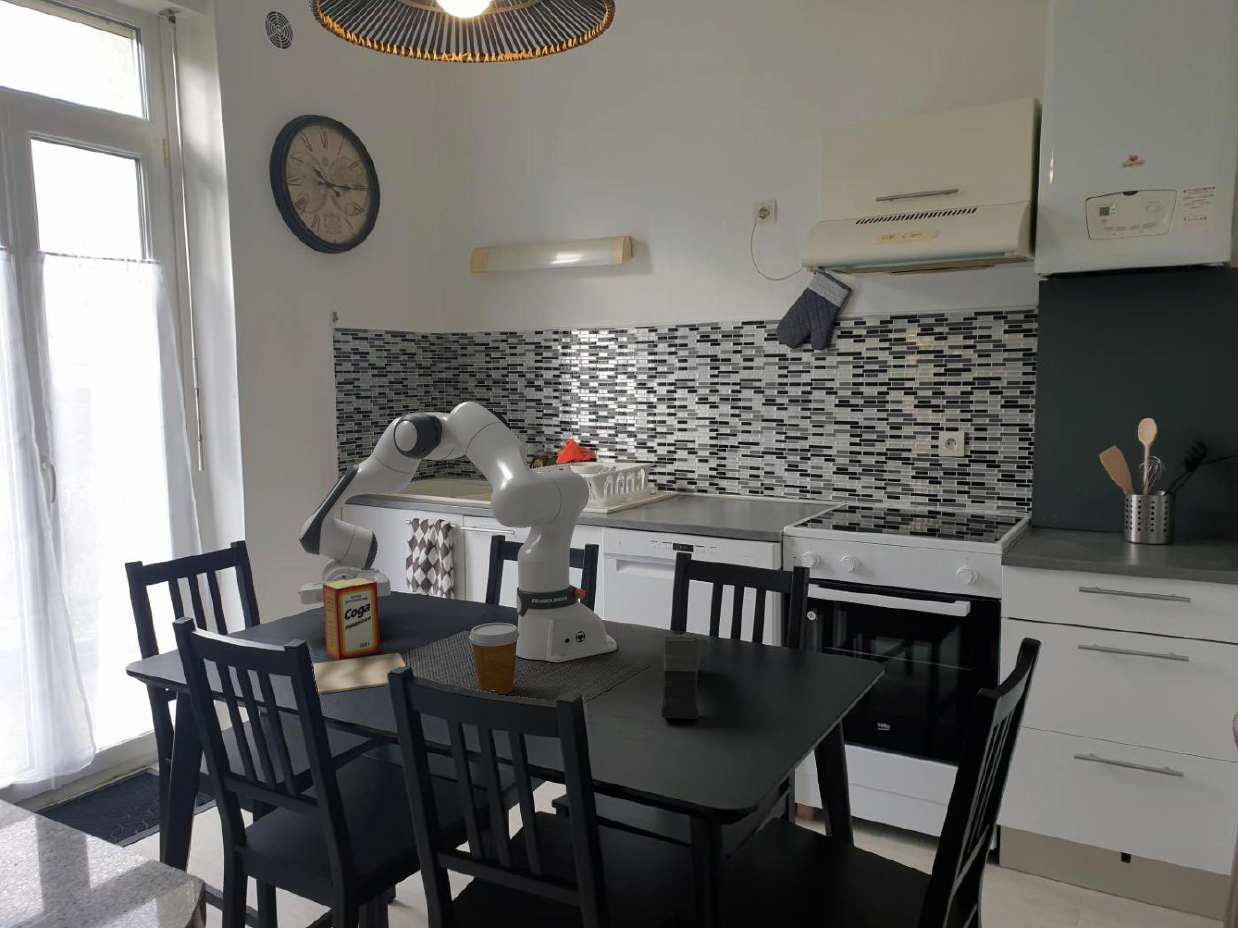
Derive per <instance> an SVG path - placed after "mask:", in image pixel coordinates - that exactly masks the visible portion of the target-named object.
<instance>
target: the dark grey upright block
mask: <svg viewBox="0 0 1238 928" xmlns="http://www.w3.org/2000/svg"><path fill="white" fill-rule="evenodd" d="M708 643H709V641H708V640H707V639H705V638H703V637H701V636H700V635H695V634H693V633H691V632H684V633H683V634H676V635H674V634H673V635H672V636H664V637H663V688H662V689H663V691H662V692H663V693H662V697H663V698H662V708H661V713H660V714H661V717H662V718H664V719H666V718H667V719H684V720H696V719H698V718H699V710H700V709H699V708H698V707H697V700H698V683H697V682H698V681H699V680H698V678H699V676H698V675H699V672H701V671H702V670H703V667H704V664H705V662H706V661H707V658H708V654H709V653H708V649H709V647H708Z"/></svg>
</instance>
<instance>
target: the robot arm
mask: <svg viewBox="0 0 1238 928" xmlns="http://www.w3.org/2000/svg"><path fill="white" fill-rule="evenodd" d="M464 458H467V459H469V460H470V462H471V463H472V464H473V465H474V466H475V467H476V468H477V470H478V471H479V472H480V473H481V474H482V475H483V476H484V477H485V479H486V480H487V481H488V484H489V485H490V487H491V489H492V492H491V495H490V503H489V504H490V510H491V512H492V515H493V517H494V519H495V520H496V522H498V523H499V524H500V525H502V526H503V527H507V528H514V529H515V528H516V529H517V528H519V529H526V528H527V529H528V528H530V529H529V533H528V535H527V537H526V540H525V541H524V543H523V544H522V545H521V547H520V548H519V549H518V553H517V575H518V576H517V577H518V578H517V581H518V586H517V588H516V596H515V597H516V598H515V599H516V601H515V602H516V603H515V604H516V612H517V614H518V620H517V631H518V632H519V637H518V640H517V647H516V657H519V658H521V659H522V658H523V659H526V660H527V659H528V660H535V661H536V660H537V661H546V662H553V663H562V662H567V661H573V660H576V659H581V658H587V657H591V656H596V655H600V654H605V653H609V652H613V651H616V650H617V648H618V646H617V642H616V640H615V639H614V638H613V637H612V636H610V635H609V634H607V633H606V626H605V624H604V621H603V619H602V618H601V617H600V616H599V615H598V614H597V613H596V612H595V611H593V610H592V609H590V608H589V607H587V606H586V605H585V604H583V603H582V602H580V601H579V599H580V600H583V599H584V598H585V597H586V591H585V590H584V589H582V588H581V587H576V586H574V585H572V584H570V553H571V552H570V550H571V544H572V540H573V535H574V531H575V529H576V525H577V522H578V520H579V517H580V515H581V514H582V512H583V511H584V510H585V508H586V506H587V505H588V503H589V499H590V489H589V486H588V483H587V482H586V480H585V478H584V477H583V476H582V475H581V474H579V473H577V472H575V471H569V470H563V469H555V470H554V469H553V470H550V471H543V472H537V471H535V470H533V469H531V468H530V466H529V465H528V463H527V459H528V449H527V447H526V445H525V443H524V442H522V440H521V439H519V438H518V436H516V434H515V433H513V431H512V430H511V429H509V427H508V426H507V425H506V424H505V423H504V422H503V421H502V420H500V418H498V416H496V415H495V414H494V413H492V412H491V411H490V410H489V409H487V408H486V407H484V406H483V405H481V404H479V403H478V402H474V401H464V402H461V403H460V404H457V405H456V406H455V407H453V409H452V410H451V411H450V413H446V412H439V411H438V412H437V411H432V412H428V411H427V412H418V411H417V412H411V413H408V414H406V415H403V416H399V417H397V418H394V420H392V422H391V423H390V424H389V425H388V426H387V427H386V429H385V431H384V432H383V434H382V435H381V436H380V438H379V440H378V441H377V443H376V446H375V447H374V449H373V452H372V453H371V454H370V455H369V456H368V457H367V458H366V459H365V460H363V461H362V462H360V463H354V464H352V465H350V466H349V467H348V468H347V469H346V470H345V471H344V473H343V474H342V475H341V476H340V477H339V478H338V480H337V482H336V483H334V485H333V487H332V488H331V490H330V491H329V492H328V493H327V495H326V496H325V498H324V499H323V500H322V502H321V503H320V504H319V506H318V507H317V508H316V510H315V511H313V513H312V514H311V515H310V517H308V519H306V521H305V522H304V523H303V525H302V527H301V530H300V532H299V537H298V540H299V543H300V544H301V547H302V548H303V550H304V551H305V553H307V554H312V555H315V556H321V557H325V558H328V559H330V560H329V561H328V562H327V563H325V564H324V566H323V568H322V572H321V575H320V576H321V578H320V579H321V581H317V582H316V581H315V582H308V583H304V584H303V585H301V587H300V588H298V589H297V593H298V595H299V597H300V604H301V605H312V604H313V605H315V604H322V603H323V604H324V601H323V584H327V583H331V582H335V581H339V580H350V579H356V578H367V579H370V580H373V581H376V582H377V597H379V598H380V597H387V596H390V595H391V592H392V591H391V581H390V578H389V577H388V576H387V575H386V574H384V573H382V572H381V571H380V569H379V568H372V566H373V564H374V562H375V559H376V556H377V553H378V546H379V543H378V540H377V536H376V535H375V532H374V531H373V530H371V529H367V528H365V527H362V526H359V525H356V524H352V523H349V522H346V521H344V520H341V519H338V518H336V515H337V514H338V512H339V511H340V510H341V509H342V507H343V505H344V504H345V503H346V502H347V500H349V499H350V498H351V497H354V496H355V497H356V496H358V495H383V496H384V495H385V496H386V495H391V494H396V493H398V492H401V491H402V490H404V489H405V488H407V487H408V485H409V484H410V483H411V481H412V479H413V477H414V476H415V474H416V472H417V470H418V468H419V466H420V463H421V461H422V460H429V461H431V460H433V461H446V460H447V461H448V460H453V459H454V460H459V459H464Z"/></svg>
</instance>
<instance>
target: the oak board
mask: <svg viewBox="0 0 1238 928" xmlns="http://www.w3.org/2000/svg"><path fill="white" fill-rule="evenodd" d="M312 664H313V666H314V674H315V679H314V681H315V680H316V684H317V688H318V695H324V694H330V693H331V694H332V693H338V692H346V691H351V690H352V691H354V690H359V689H361V690H362V689H367V688H368V689H369V688H374V687H382V686H383V687H384V686H389V685H388V681H387V672H389V671H390V670H394V669H396V668H398V667H405V666H406V664H405V661H404V659H403V658H402V656H401V654H400V652H392V653H386V654H379V655H377V654H376V655H372V656H371V655H370V656H363V657H362V656H360V657H354V658H350V659H346V660H333V661H330V660H329V661H324V662H317V663H312ZM406 667H407V666H406ZM314 674H313V675H314ZM316 684H315V685H316Z"/></svg>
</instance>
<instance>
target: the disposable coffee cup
mask: <svg viewBox="0 0 1238 928" xmlns="http://www.w3.org/2000/svg"><path fill="white" fill-rule="evenodd" d="M517 629H518V626H516V625H514V624H512V623H507V622H490V623H489V622H488V623H482V624H479V625H476V626H474V627H472V629H471V631H470V635H469V636H468V639H469V640H470V643H471V645H472V651H473V658H474V663H475V670H476V674H477V675H476V676H477V682H478V687H479V691H480V690H481V691H487V692H491V693H497V694H502V695H506V694H508V693H510V692H512V691H513V690H514V680H515V669H516V659H517V655H516V647H517V640H518V637H519V632H518V631H517ZM491 690H495V691H491Z"/></svg>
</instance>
